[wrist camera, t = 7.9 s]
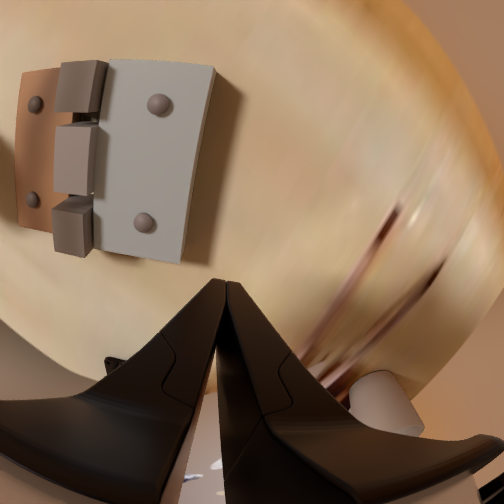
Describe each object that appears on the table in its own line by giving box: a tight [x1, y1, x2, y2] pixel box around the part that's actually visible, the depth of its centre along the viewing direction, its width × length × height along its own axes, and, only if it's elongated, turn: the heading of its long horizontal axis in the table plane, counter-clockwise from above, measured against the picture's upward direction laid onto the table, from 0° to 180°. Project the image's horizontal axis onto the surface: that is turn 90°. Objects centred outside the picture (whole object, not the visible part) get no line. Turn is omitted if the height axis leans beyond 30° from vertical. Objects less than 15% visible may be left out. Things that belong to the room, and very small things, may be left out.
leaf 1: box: [15, 60, 109, 258], centre depth 15 cm, size 8×12×4 cm, turn 168°
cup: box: [349, 371, 424, 437], centre depth 26 cm, size 8×10×8 cm
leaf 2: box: [54, 59, 216, 264], centre depth 15 cm, size 8×12×4 cm
